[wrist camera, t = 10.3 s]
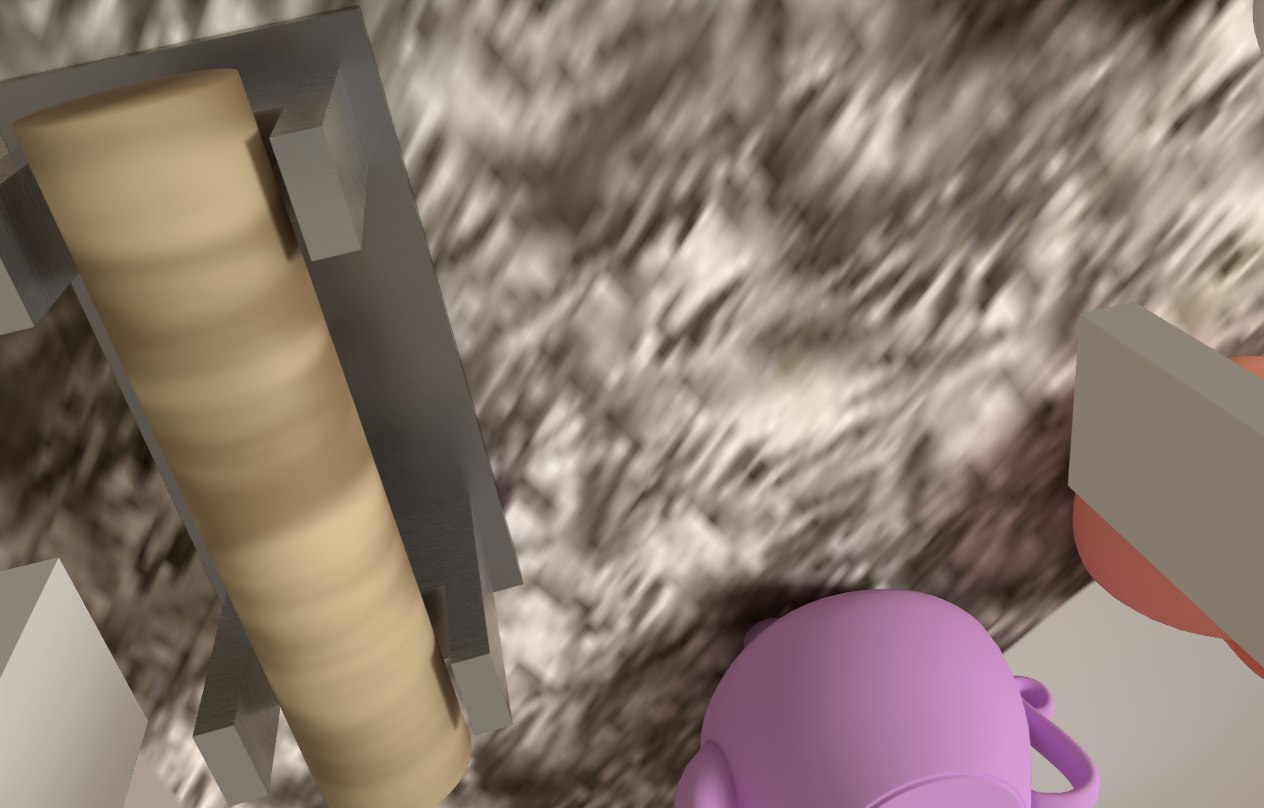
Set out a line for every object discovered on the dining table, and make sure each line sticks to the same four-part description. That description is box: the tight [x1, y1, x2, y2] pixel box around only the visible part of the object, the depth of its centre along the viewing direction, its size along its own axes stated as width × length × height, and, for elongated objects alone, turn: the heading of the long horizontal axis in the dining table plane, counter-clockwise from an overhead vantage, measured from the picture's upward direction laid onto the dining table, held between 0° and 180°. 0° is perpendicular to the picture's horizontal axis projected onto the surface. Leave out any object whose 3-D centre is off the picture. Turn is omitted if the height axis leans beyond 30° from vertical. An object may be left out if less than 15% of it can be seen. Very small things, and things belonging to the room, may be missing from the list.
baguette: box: [12, 68, 472, 808], centre depth 29 cm, size 22×5×5 cm, turn 10°
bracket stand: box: [0, 5, 523, 807], centre depth 32 cm, size 22×11×10 cm, turn 10°
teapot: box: [674, 589, 1100, 808], centre depth 43 cm, size 20×14×12 cm
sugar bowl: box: [1073, 356, 1264, 679], centre depth 43 cm, size 12×14×10 cm
